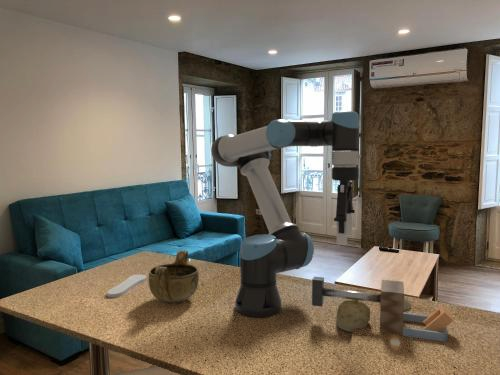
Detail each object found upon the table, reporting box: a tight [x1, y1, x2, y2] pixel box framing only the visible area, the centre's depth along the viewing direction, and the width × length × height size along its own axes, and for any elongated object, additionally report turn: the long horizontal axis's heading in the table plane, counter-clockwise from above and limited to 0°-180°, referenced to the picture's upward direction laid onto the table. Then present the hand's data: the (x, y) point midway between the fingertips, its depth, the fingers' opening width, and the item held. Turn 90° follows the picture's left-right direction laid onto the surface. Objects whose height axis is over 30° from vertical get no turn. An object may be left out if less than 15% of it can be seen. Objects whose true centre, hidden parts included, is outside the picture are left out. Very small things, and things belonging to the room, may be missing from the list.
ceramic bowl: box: [148, 249, 200, 305], centre depth 139 cm, size 22×17×15 cm
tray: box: [402, 312, 449, 343], centre depth 114 cm, size 11×11×4 cm
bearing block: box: [379, 279, 405, 336], centre depth 116 cm, size 6×10×13 cm, turn 161°
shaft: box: [311, 276, 381, 307], centre depth 119 cm, size 22×3×8 cm, turn 71°
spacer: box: [422, 305, 454, 332], centre depth 112 cm, size 3×5×7 cm
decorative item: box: [335, 299, 371, 333], centre depth 118 cm, size 10×10×10 cm
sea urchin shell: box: [379, 295, 411, 311], centre depth 131 cm, size 9×8×8 cm
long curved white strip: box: [106, 274, 148, 299], centre depth 153 cm, size 7×22×2 cm, turn 166°
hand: (344, 239), depth 118 cm, fingers open, 13 cm apart
